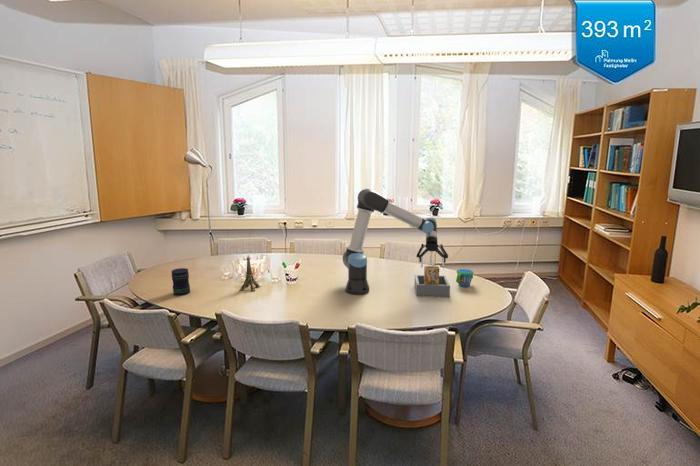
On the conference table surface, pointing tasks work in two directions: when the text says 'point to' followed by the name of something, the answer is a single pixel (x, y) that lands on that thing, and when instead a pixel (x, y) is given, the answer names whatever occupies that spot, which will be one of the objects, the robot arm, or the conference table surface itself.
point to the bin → (432, 287)
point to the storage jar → (180, 281)
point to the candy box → (431, 275)
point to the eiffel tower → (249, 278)
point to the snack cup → (464, 277)
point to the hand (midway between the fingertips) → (432, 266)
